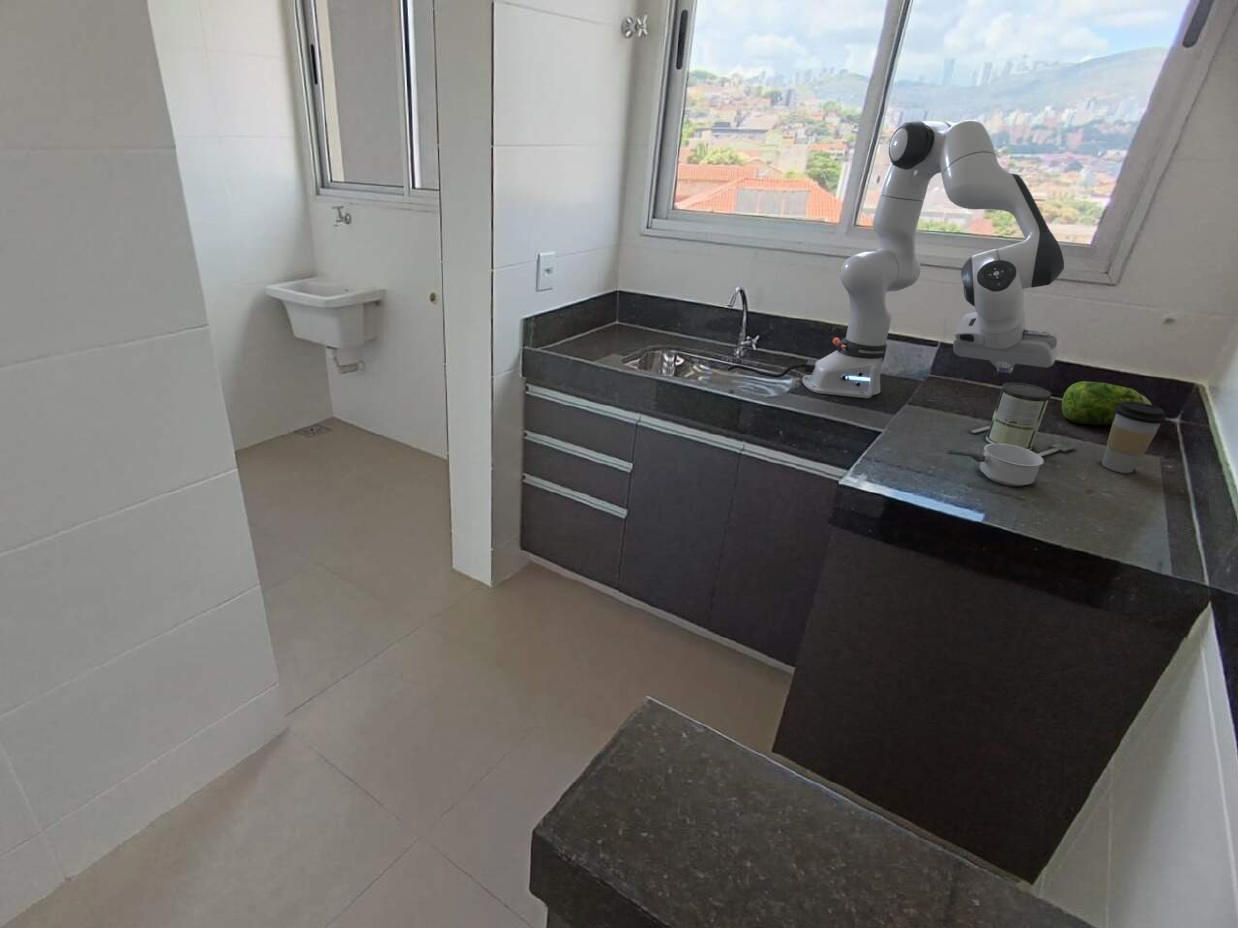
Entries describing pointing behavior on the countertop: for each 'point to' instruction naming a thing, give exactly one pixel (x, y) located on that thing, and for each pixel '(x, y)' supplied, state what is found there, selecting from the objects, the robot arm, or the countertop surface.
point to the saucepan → (1006, 463)
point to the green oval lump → (1096, 402)
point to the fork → (980, 430)
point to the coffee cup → (1131, 434)
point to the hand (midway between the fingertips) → (1005, 370)
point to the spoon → (1056, 449)
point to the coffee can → (1018, 415)
